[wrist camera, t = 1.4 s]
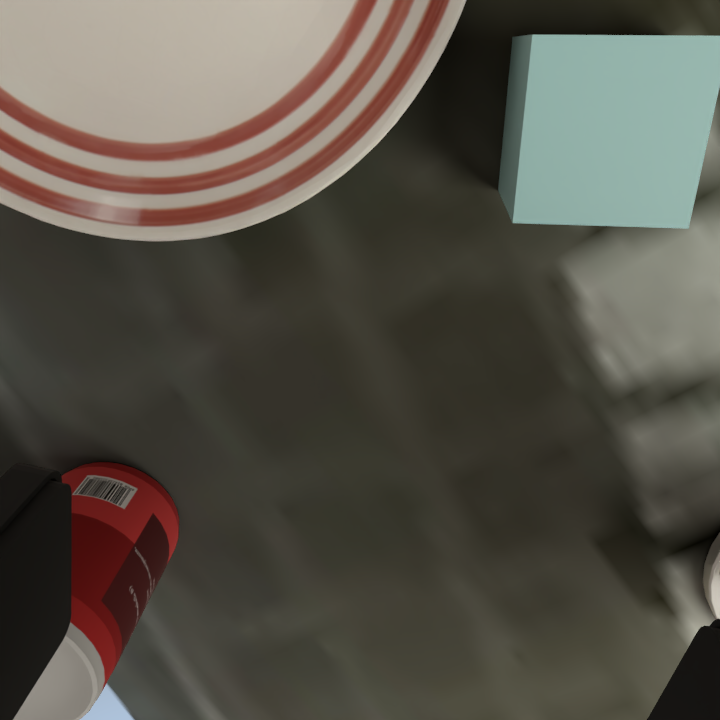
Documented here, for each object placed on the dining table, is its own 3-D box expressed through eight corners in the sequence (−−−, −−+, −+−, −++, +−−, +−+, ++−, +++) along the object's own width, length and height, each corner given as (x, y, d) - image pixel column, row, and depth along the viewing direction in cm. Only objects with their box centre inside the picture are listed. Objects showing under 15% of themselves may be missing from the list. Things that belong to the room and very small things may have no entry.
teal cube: (668, 38, 26) (730, 35, 21) (640, 194, 29) (688, 228, 23) (512, 36, 27) (532, 34, 21) (497, 190, 29) (512, 223, 24)
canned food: (24, 482, 39) (-117, 633, 29) (136, 438, 36) (26, 584, 27) (99, 578, 41) (-7, 747, 31) (208, 542, 39) (131, 710, 29)
